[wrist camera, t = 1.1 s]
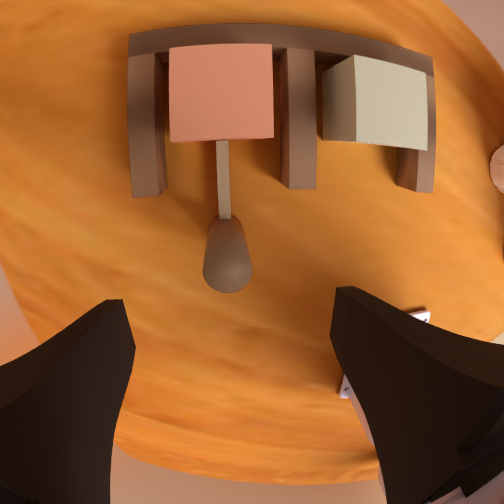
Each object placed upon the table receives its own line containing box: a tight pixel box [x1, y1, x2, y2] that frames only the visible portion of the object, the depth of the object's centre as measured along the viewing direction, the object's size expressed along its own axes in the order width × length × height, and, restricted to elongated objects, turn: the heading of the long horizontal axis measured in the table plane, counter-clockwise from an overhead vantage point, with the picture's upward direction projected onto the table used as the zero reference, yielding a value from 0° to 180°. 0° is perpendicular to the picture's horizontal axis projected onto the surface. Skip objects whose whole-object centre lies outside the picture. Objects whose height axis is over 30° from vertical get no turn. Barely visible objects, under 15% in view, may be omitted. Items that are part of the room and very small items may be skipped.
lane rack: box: [127, 23, 436, 198], centre depth 15 cm, size 10×18×2 cm, turn 91°
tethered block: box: [169, 44, 274, 293], centre depth 14 cm, size 11×4×6 cm, turn 1°
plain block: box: [322, 55, 428, 151], centre depth 14 cm, size 4×4×5 cm
